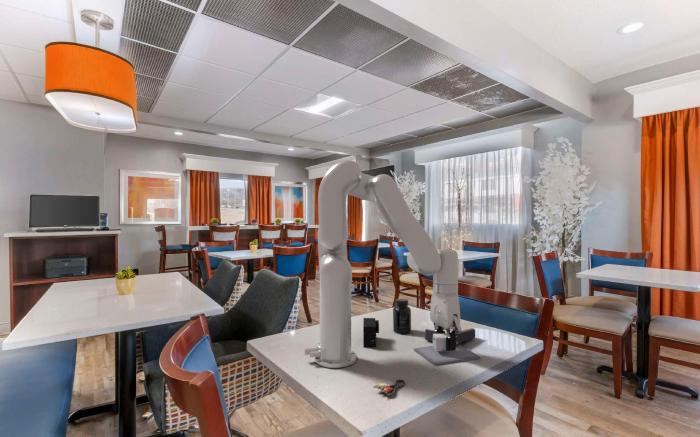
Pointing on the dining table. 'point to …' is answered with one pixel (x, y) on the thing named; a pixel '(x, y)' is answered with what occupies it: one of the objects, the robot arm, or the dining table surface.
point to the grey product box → (463, 336)
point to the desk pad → (446, 355)
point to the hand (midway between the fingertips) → (445, 346)
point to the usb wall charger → (439, 341)
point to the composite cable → (389, 388)
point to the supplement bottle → (402, 317)
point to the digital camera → (370, 332)
